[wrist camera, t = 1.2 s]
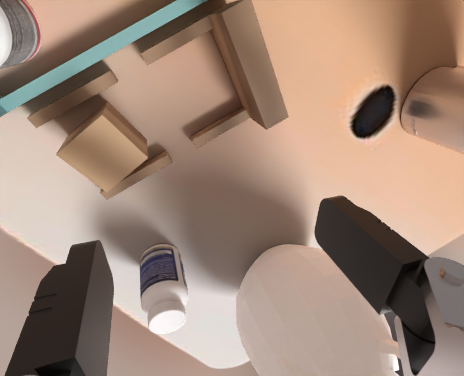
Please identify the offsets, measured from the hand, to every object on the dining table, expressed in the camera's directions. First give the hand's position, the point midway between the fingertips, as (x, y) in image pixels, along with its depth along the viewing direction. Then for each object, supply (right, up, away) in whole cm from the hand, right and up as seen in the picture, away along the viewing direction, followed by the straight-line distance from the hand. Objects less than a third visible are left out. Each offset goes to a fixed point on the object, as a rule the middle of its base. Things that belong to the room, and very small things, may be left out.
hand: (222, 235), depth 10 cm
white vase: (+7, -11, +35) cm, 37 cm away
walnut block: (-12, +7, +17) cm, 22 cm away
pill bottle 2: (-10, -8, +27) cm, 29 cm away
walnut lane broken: (-7, +10, +17) cm, 20 cm away
